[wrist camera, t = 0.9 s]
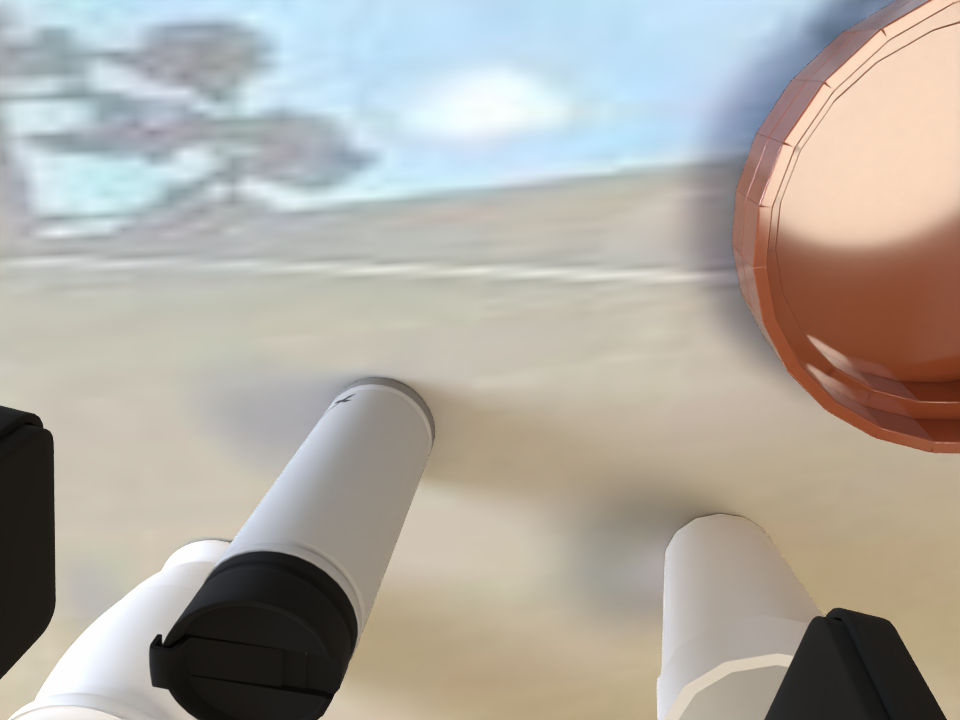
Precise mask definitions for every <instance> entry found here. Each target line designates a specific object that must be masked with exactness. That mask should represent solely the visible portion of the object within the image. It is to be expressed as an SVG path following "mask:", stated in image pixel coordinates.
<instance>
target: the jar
mask: <svg viewBox="0 0 960 720" xmlns="http://www.w3.org/2000/svg"><path fill="white" fill-rule="evenodd" d="M230 544H231V543H229V542H225V541H217V540H206V541H198V542H194V543H191V544H188V545H186V546H184V547H182V548H180V549H179V550H177V551H176V552H175V553H174V554H173V555H172V556H171V557H170V558H169V559H168V560H167V562H166V563H165V565H164V567H163V569H162V571H161V572H159V573H157V574H155V575H153V576H151V577H150V578H148V579H147V580H145V581H144V582H142V583H141V584H140V585H138V586H137V587H136V588H134V589H133V590H132V591H131V592H130V593H129V594H127V595H126V596H125V597H124V598H123V599H122V600H120V601H119V602H118V603H116V604H115V605H114V606H112V607H111V608H110V609H109V610H107V611H106V612H105V613H104V614H103V615H101V616H100V617H99V618H98V619H97V620H96V621H95V622H94V623H93V624H92V625H91V626H89V627H88V628H87V629H86V630H85V631H84V633H83V634H82V635H81V636H80V637H79V638H78V639H77V640H76V641H75V642H74V643H73V645H72V646H71V647H70V648H69V649H68V651H67V652H66V653H65V654H64V656H63V657H62V658H61V660H60V661H59V662H58V664H57V665H56V667H55V668H54V670H53V671H52V672H51V674H50V676H49V677H48V679H47V680H46V682H45V683H44V685H43V687H42V688H41V690H40V692H39V694H38V695H37V697H36V699H35V701H33V702H31V703H29V704H27V705H25V706H24V707H22V708H21V709H19V710H18V711H17V712H16V713H14V714H13V715H12V716H11V717H10V718H9V719H8V720H197V719H196V718H194V717H193V716H191V715H190V714H188V713H187V712H186V711H185V710H184V709H183V708H182V707H181V706H180V705H179V704H178V703H177V702H176V701H175V699H174V698H173V696H172V695H171V693H170V692H169V690H167V689H162V688H157V687H153V686H152V683H151V677H150V667H149V648H150V644H151V642H152V641H153V640H154V638H155V637H156V635H157V634H162V644H163V642H164V640H165V638H166V636H167V634H168V633H169V631H170V630H171V628H172V627H173V626H174V624H175V623H176V621H177V620H178V619H179V617H180V616H181V614H182V613H183V612H184V610H185V609H186V607H187V606H188V605H189V603H190V602H191V600H192V599H193V598H194V596H195V595H196V593H197V592H198V591H199V589H200V588H201V587H202V585H203V583H204V580H205V579H206V577H207V576H208V574H209V573H210V571H211V570H212V569H213V567H214V566H215V564H216V563H217V562H218V560H219V559H220V558H221V556H222V555H223V553H224V552H225V551H226V549H227V548H228V546H229V545H230Z"/></svg>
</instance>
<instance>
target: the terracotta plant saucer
mask: <svg viewBox="0 0 960 720" xmlns="http://www.w3.org/2000/svg"><path fill="white" fill-rule="evenodd" d="M732 249H733V254H734V259H735V264H736V269H737V274H738V280H739V285H740V290H741V293H742V297H743V298H744V300H745V302H746V304H747V306H748V308H749V310H750V312H751V314H752V316H753V318H754V319H755V321H756V323H757V325H758V327H759V329H760V331H761V333H762V335H763V337H764V338H765V340H766V341H767V342H768V344H769V345H770V347H771V348H772V350H773V351H774V352H775V354H776V355H777V357H778V358H779V360H780V361H781V363H782V364H783V365H784V367H785V368H786V370H787V371H788V372H789V374H790V375H791V376H792V377H793V378H794V379H795V380H796V381H797V382H798V383H799V384H800V385H801V386H802V387H803V388H804V389H805V390H806V391H807V392H808V393H809V394H810V395H811V396H812V397H813V398H814V399H815V400H816V401H817V402H818V403H819V404H820V405H821V406H822V407H823V408H824V409H825V410H827V411H828V412H829V413H831V414H833V415H835V416H837V417H838V418H840V419H842V420H844V421H845V422H847V423H849V424H851V425H853V426H854V427H856V428H858V429H860V430H861V431H863V432H865V433H867V434H869V435H870V436H872V437H875V438H877V439H881V440H885V441H889V442H892V443H896V444H900V445H904V446H908V447H912V448H915V449H919V450H923V451H927V452H932V453H960V0H896V1H894V2H893V3H891V4H889V5H888V6H886V7H884V8H882V9H881V10H879V11H877V12H876V13H874V14H872V15H871V16H869V17H867V18H866V19H864V20H862V21H860V22H859V23H857V24H855V25H854V26H852V27H850V28H849V29H847V30H845V31H843V32H842V33H841V34H840V35H838V36H837V37H836V38H835V39H834V40H833V41H832V42H831V43H830V44H829V45H828V46H827V47H826V48H825V49H824V50H823V51H822V52H820V53H819V54H818V55H817V56H816V57H815V58H814V59H813V60H812V61H811V62H810V63H809V64H808V65H807V66H806V67H805V68H804V69H803V70H801V71H800V72H799V73H798V74H797V75H796V76H795V77H794V78H793V80H791V81H790V83H789V84H788V86H787V87H786V89H785V90H784V92H783V93H782V95H781V96H780V98H779V99H778V101H777V102H776V104H775V105H774V107H773V108H772V110H771V111H770V113H769V114H768V116H767V118H766V119H765V121H764V122H763V124H762V125H761V127H760V128H759V130H758V131H757V133H756V135H755V138H754V141H753V143H752V146H751V149H750V152H749V155H748V157H747V160H746V163H745V166H744V169H743V171H742V174H741V177H740V180H739V182H738V185H737V190H736V198H735V210H734V221H733V233H732Z"/></svg>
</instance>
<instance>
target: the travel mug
mask: <svg viewBox="0 0 960 720" xmlns="http://www.w3.org/2000/svg"><path fill="white" fill-rule="evenodd" d="M434 438H435V426H434V421H433V417H432V415H431V413H430V410H429V408H428V407H427V405H426V404H425V402H424V401H423V399H422V398H421V397H420V396H419V395H418V394H417V393H416V392H414V391H413V390H411V389H410V388H409V387H407V386H405V385H403V384H401V383H399V382H397V381H393V380H389V379H384V378H369V379H363V380H360V381H357V382H354V383H353V384H351V385H349V386H347V387H346V388H345V389H344V390H343V391H341V392H340V393H339V394H338V396H337V397H336V399H335V400H334V401H333V403H332V404H331V406H330V407H329V408H328V410H327V411H326V412H325V414H324V415H323V417H322V418H321V419H320V421H319V422H318V423H317V425H316V426H315V428H314V429H313V430H312V432H311V433H310V434H309V436H308V437H307V439H306V440H305V441H304V443H303V444H302V446H301V447H300V448H299V450H298V451H297V452H296V454H295V455H294V457H293V458H292V459H291V461H290V462H289V464H288V465H287V466H286V468H285V469H284V470H283V472H282V473H281V475H280V476H279V477H278V479H277V480H276V481H275V483H274V484H273V486H272V487H271V488H270V490H269V491H268V493H267V494H266V495H265V497H264V498H263V499H262V501H261V502H260V504H259V505H258V506H257V508H256V509H255V511H254V512H253V513H252V515H251V516H250V517H249V519H248V520H247V522H246V523H245V524H244V526H243V527H242V529H241V530H240V531H239V533H238V534H237V535H236V537H235V538H234V540H233V541H232V542H231V544H230V545H229V546H228V548H227V549H226V551H225V552H224V553H223V555H222V556H221V558H220V559H219V560H218V562H217V563H216V564H215V566H214V567H213V569H212V570H211V571H210V573H209V574H208V576H207V577H206V579H205V580H204V583H203V585H202V587H201V588H200V589H199V591H198V592H197V593H196V595H195V596H194V598H193V599H192V600H191V602H190V603H189V605H188V606H187V607H186V609H185V610H184V612H183V613H182V614H181V616H180V617H179V619H178V620H177V621H176V623H175V624H174V626H173V627H172V628H171V630H170V631H169V633H168V634H167V636H166V638H165V640H164V642H163V644H162V634H157V635H156V637H155V638H154V640H153V641H152V642H151V644H150V648H149V667H150V677H151V683H152V686H153V687H157V688H162V689H167V690H169V692H170V693H171V695H172V696H173V698H174V699H175V701H176V702H177V703H178V704H179V705H180V706H181V707H182V708H183V709H184V710H185V711H186V712H187V713H188V714H190V715H191V716H193V717H194V718H196V719H197V720H318V719H319V718H320V717H321V716H323V715H324V713H325V711H326V710H327V708H328V706H329V704H330V703H331V701H332V699H333V696H334V694H335V693H336V692H337V691H338V689H339V688H340V686H341V683H342V681H343V678H344V675H345V673H346V670H347V668H348V664H349V661H350V659H351V658H352V656H353V654H354V652H355V650H356V648H357V646H358V643H359V640H360V636H361V634H362V632H363V630H364V627H365V624H366V622H367V619H368V616H369V614H370V611H371V608H372V606H373V603H374V600H375V598H376V595H377V592H378V590H379V587H380V584H381V582H382V579H383V577H384V574H385V571H386V569H387V566H388V563H389V561H390V558H391V555H392V553H393V550H394V547H395V545H396V542H397V539H398V537H399V534H400V531H401V529H402V526H403V523H404V521H405V518H406V515H407V513H408V510H409V508H410V505H411V502H412V500H413V497H414V494H415V492H416V489H417V486H418V484H419V481H420V478H421V476H422V473H423V470H424V468H425V465H426V462H427V460H428V457H429V454H430V452H431V449H432V446H433V442H434Z"/></svg>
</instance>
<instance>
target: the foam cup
mask: <svg viewBox="0 0 960 720" xmlns="http://www.w3.org/2000/svg"><path fill="white" fill-rule="evenodd" d="M816 616H822V617H824V616H823V615H822V613H821V612H820V610H819V609H818V607H817V606H816V604H815V603H814V602H813V600H812V599H811V597H810V596H809V594H808V593H807V591H806V590H805V588H804V587H803V585H802V584H801V583H800V581H799V580H798V578H797V577H796V575H795V574H794V572H793V571H792V569H791V568H790V566H789V565H788V564H787V562H786V561H785V559H784V558H783V556H782V555H781V553H780V552H779V550H778V549H777V547H776V546H775V545H774V543H773V542H772V540H771V539H770V537H769V536H768V535H767V534H766V532H765V531H764V530H763V529H761V528H760V527H758V526H757V525H755V524H754V523H752V522H751V521H749V520H748V519H746V518H744V517H738V516H732V515H727V514H721V513H720V514H715V515H710V516H705V517H700V518H696V519H694V520H693V521H691V522H690V523H688V524H687V525H685V526H684V527H682V528H681V529H679V530H678V531H676V533H675V534H674V536H673V538H672V540H671V541H670V543H669V545H668V547H667V548H666V550H665V569H664V602H663V634H662V666H661V674H660V676H659V677H658V679H657V717H658V720H764V719H765V717H766V715H767V713H768V711H769V709H770V706H771V704H772V702H773V700H774V698H775V696H776V694H777V691H778V689H779V687H780V685H781V683H782V681H783V679H784V676H785V674H786V672H787V670H788V668H789V666H790V664H791V662H792V659H793V657H794V655H795V653H796V651H797V649H798V647H799V644H800V642H801V640H802V638H803V636H804V634H805V632H806V630H807V627H808V625H809V624H810V622H811V620H812V619H813V618H815V617H816Z"/></svg>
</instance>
